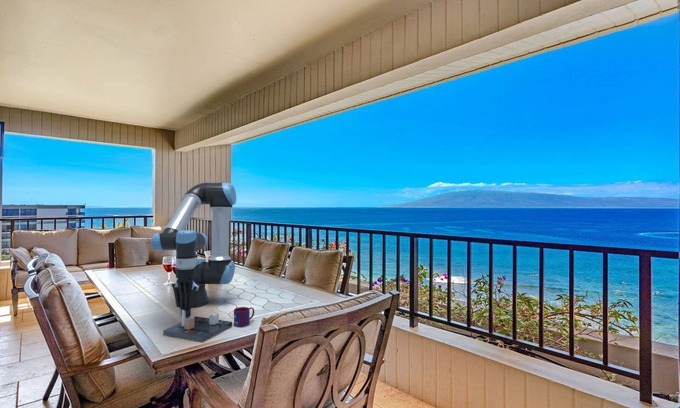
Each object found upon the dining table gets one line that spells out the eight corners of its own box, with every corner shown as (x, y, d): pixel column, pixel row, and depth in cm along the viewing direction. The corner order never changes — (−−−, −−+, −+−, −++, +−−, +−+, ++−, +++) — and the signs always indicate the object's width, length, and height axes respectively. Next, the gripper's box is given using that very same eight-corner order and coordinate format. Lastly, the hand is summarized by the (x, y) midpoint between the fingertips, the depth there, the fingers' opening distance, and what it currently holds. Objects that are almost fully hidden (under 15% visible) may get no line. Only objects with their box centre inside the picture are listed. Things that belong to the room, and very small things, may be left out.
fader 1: (184, 329, 138) (184, 319, 138) (189, 326, 141) (189, 316, 141) (188, 329, 137) (189, 319, 137) (194, 327, 140) (194, 317, 140)
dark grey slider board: (163, 335, 137) (163, 330, 137) (195, 320, 154) (195, 316, 154) (202, 342, 130) (202, 337, 130) (232, 326, 147) (232, 321, 147)
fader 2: (209, 324, 144) (209, 314, 144) (214, 321, 146) (214, 312, 146) (213, 324, 143) (213, 315, 143) (218, 322, 146) (218, 313, 146)
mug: (230, 324, 150) (231, 309, 150) (250, 319, 157) (251, 304, 157) (238, 328, 145) (238, 312, 145) (258, 322, 152) (258, 307, 152)
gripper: (166, 268, 138) (165, 325, 138) (191, 270, 134) (191, 330, 134) (180, 265, 145) (180, 319, 145) (205, 267, 141) (204, 323, 141)
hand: (185, 324), depth 139 cm, fingers closed
